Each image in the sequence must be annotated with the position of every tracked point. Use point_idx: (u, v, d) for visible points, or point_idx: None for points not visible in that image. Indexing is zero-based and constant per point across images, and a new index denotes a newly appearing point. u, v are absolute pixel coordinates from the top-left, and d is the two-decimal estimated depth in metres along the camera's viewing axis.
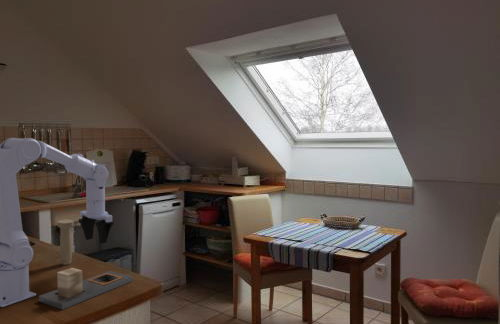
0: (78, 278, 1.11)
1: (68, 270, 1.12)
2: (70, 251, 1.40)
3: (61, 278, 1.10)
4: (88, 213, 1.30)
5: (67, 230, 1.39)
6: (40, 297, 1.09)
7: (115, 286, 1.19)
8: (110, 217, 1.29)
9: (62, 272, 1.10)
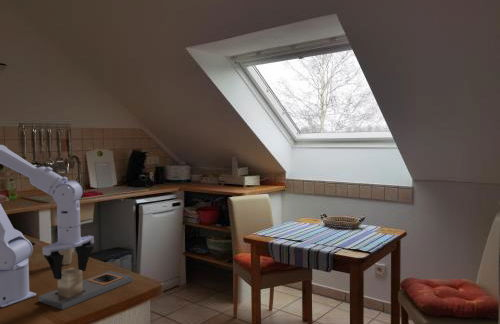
0: (78, 278, 1.11)
1: (68, 270, 1.12)
2: (70, 251, 1.40)
3: (61, 278, 1.10)
4: None
5: None
6: (40, 297, 1.09)
7: (115, 286, 1.19)
8: (45, 249, 1.04)
9: (62, 272, 1.10)
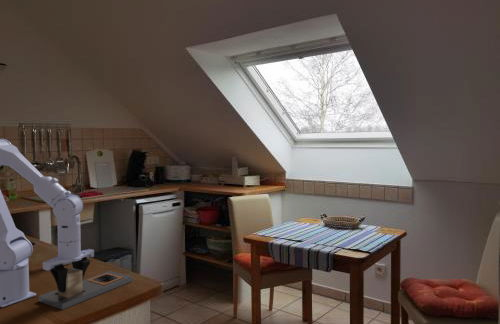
0: (78, 277, 1.11)
1: (68, 270, 1.12)
2: None
3: None
4: None
5: None
6: (40, 297, 1.09)
7: (115, 286, 1.19)
8: (45, 264, 1.05)
9: None
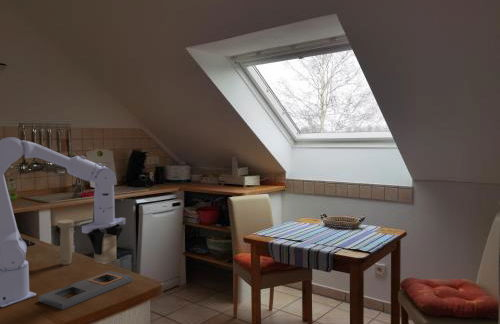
0: (112, 242, 1.21)
1: None
2: (70, 251, 1.40)
3: None
4: None
5: (67, 230, 1.39)
6: (40, 297, 1.09)
7: (115, 286, 1.19)
8: (84, 228, 1.14)
9: None
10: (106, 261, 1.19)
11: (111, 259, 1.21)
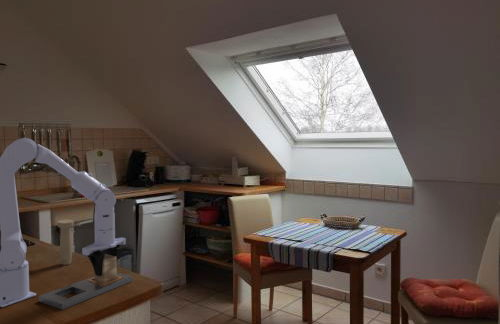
0: (113, 263, 1.21)
1: None
2: (70, 251, 1.40)
3: None
4: None
5: (67, 230, 1.39)
6: (40, 297, 1.09)
7: (115, 286, 1.19)
8: (85, 250, 1.15)
9: None
10: (106, 282, 1.20)
11: (111, 280, 1.21)
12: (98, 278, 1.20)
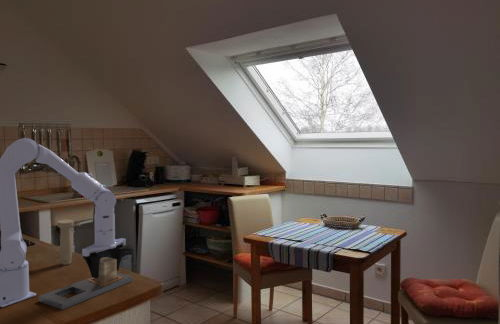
0: (113, 266, 1.21)
1: (103, 259, 1.22)
2: (70, 251, 1.40)
3: None
4: None
5: (67, 230, 1.39)
6: (40, 297, 1.09)
7: (115, 286, 1.19)
8: (85, 251, 1.15)
9: None
10: None
11: None
12: (98, 281, 1.20)
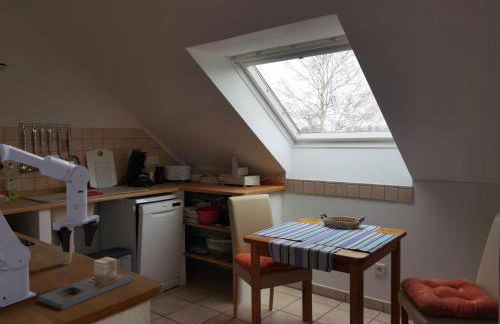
0: (113, 266, 1.21)
1: (103, 259, 1.22)
2: (70, 251, 1.40)
3: (98, 266, 1.20)
4: None
5: None
6: (40, 297, 1.09)
7: (115, 286, 1.19)
8: (55, 225, 1.16)
9: (98, 260, 1.21)
10: None
11: None
12: (98, 281, 1.20)
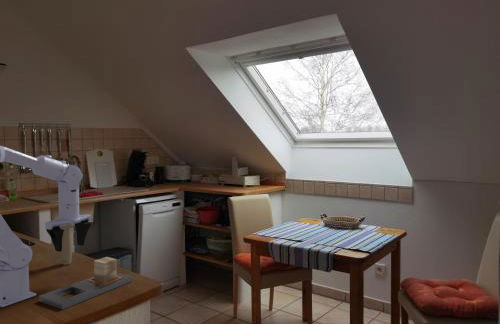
0: (113, 266, 1.21)
1: (103, 259, 1.22)
2: (70, 251, 1.40)
3: (98, 266, 1.20)
4: None
5: (67, 230, 1.39)
6: (40, 297, 1.09)
7: (115, 286, 1.19)
8: (47, 224, 1.16)
9: (98, 260, 1.21)
10: None
11: None
12: (98, 281, 1.20)
